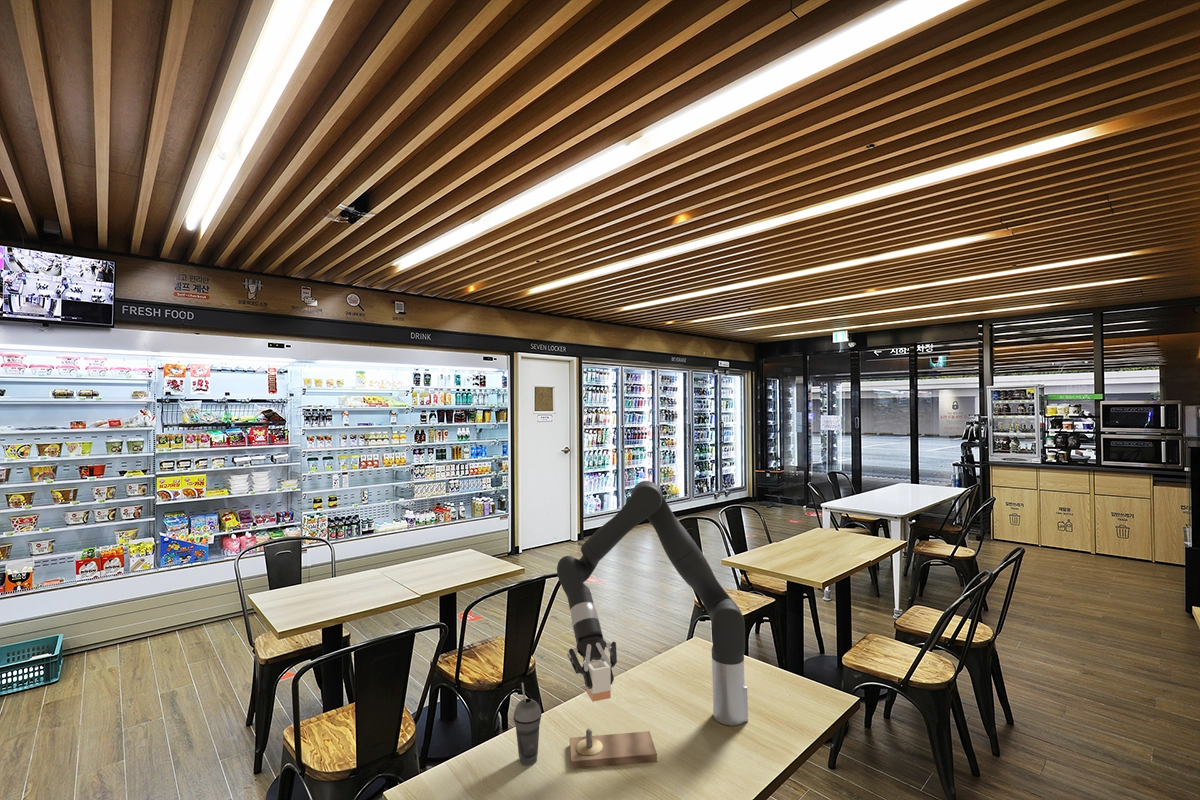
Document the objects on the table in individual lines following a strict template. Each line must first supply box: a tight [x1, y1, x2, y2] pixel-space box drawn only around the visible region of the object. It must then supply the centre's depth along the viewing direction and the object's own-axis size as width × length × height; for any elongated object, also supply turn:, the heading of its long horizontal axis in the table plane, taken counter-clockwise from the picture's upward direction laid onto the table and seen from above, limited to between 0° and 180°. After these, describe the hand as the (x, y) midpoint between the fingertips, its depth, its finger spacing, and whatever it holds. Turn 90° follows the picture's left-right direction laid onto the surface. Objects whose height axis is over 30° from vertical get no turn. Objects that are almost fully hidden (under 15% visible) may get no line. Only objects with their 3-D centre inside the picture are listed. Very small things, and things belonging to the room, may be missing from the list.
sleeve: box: [585, 660, 612, 702], centre depth 145 cm, size 5×5×8 cm
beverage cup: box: [512, 682, 542, 767], centre depth 143 cm, size 7×7×20 cm
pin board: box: [569, 728, 658, 770], centre depth 145 cm, size 22×10×7 cm, turn 96°
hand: (600, 685), depth 143 cm, fingers closed on sleeve, 5 cm apart
